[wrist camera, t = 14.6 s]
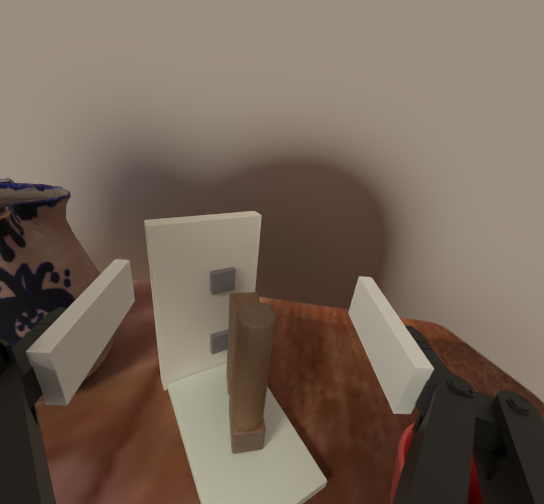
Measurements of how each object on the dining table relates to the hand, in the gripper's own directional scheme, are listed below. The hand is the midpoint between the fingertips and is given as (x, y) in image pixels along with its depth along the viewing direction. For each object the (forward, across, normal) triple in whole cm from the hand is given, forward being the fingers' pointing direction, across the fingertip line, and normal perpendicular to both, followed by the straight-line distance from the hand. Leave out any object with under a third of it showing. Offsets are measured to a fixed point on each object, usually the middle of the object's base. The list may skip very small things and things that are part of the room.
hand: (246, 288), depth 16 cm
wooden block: (+9, +1, -25) cm, 27 cm away
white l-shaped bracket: (+9, 0, -26) cm, 27 cm away
